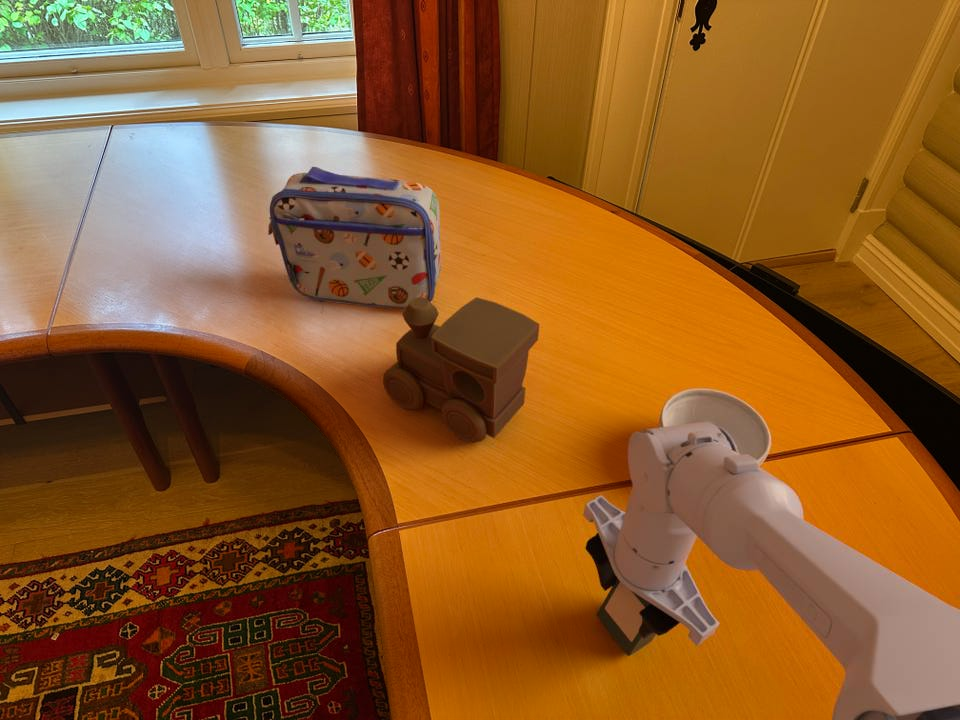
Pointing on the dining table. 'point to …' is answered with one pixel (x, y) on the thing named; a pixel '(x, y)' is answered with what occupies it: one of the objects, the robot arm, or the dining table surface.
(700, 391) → the ramekin
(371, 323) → the dining table surface
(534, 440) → the dining table surface
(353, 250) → the lunch box
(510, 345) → the wooden toy train
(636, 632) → the carton
